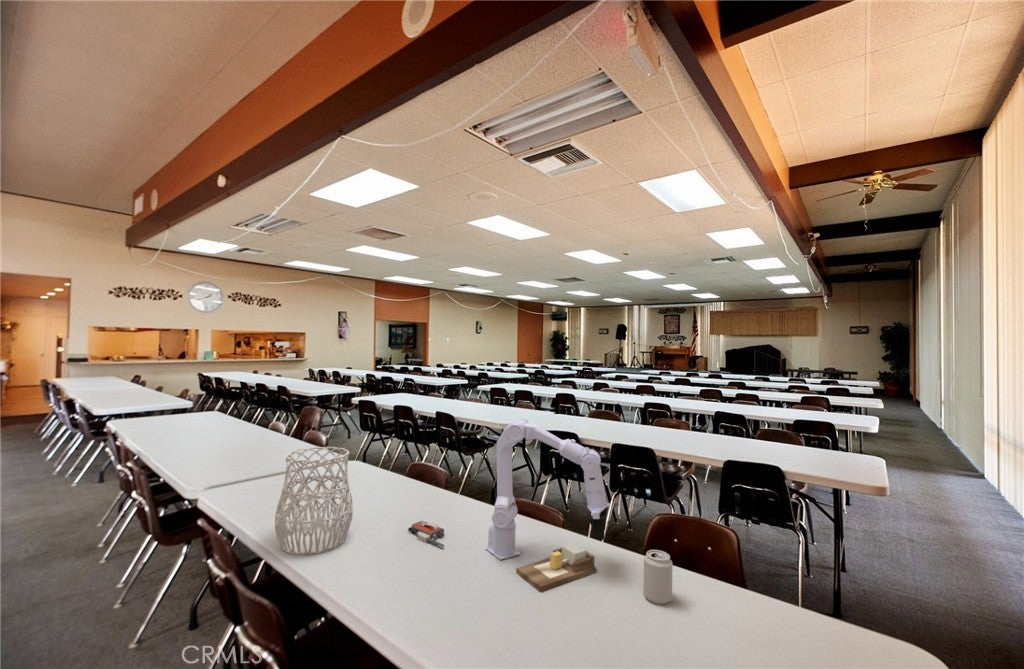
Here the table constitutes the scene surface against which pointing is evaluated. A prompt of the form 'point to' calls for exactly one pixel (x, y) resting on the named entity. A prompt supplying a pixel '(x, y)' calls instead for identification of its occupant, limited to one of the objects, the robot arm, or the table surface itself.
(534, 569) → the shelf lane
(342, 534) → the vase
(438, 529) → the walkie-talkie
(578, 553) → the block
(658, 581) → the can
